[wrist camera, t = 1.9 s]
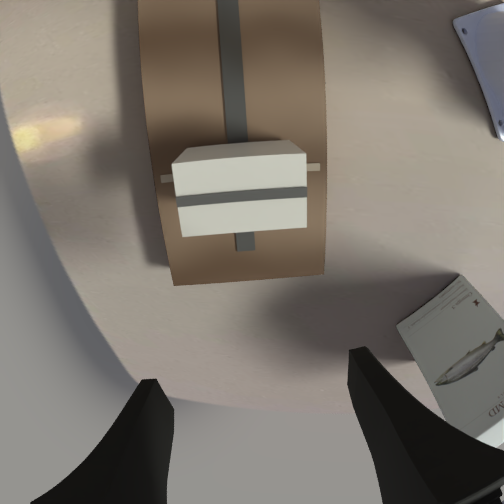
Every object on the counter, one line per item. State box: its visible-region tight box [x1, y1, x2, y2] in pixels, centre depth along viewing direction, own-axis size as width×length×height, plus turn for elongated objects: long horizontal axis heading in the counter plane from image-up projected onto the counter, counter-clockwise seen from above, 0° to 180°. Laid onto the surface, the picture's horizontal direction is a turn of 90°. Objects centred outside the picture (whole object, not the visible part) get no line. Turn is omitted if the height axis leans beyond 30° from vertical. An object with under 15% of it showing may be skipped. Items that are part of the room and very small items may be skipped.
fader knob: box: [172, 140, 307, 237], centre depth 14 cm, size 3×5×4 cm, turn 94°
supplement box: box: [396, 275, 504, 448], centre depth 19 cm, size 7×7×13 cm
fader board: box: [138, 0, 327, 286], centre depth 14 cm, size 26×9×2 cm, turn 4°
